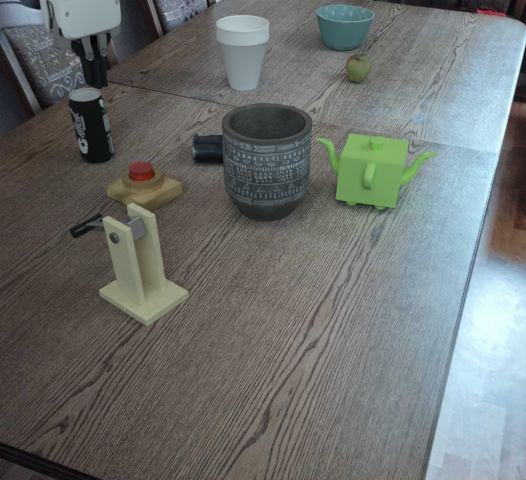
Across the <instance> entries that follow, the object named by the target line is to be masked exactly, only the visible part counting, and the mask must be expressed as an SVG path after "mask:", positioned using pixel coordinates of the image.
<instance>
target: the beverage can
mask: <svg viewBox="0 0 526 480" xmlns="http://www.w3.org/2000/svg"><path fill="white" fill-rule="evenodd" d="M67 105H68V109H69V113H70V117H71V121H72V125H73V129H74V133H75V138H76V142H77V146H78V149H79V153H80V157H81V158H82V159H84V160H85V161H86V162H89V163H93V164H100V163H105V162H108V161H109V160H111V159H113V156H114V155H115V152H116V149H115V143H114V139H113V134H112V130H111V124H110V120H109V114H108V109H107V104H106V100H105V98H104V97H103V95H102V92H101V90H100V89H96V88H94V87H81V88H76V89H73V90H72V91H70V92H69V93H68V104H67Z"/></svg>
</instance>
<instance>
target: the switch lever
mask: <svg viewBox="0 0 526 480" xmlns="http://www.w3.org/2000/svg"><path fill="white" fill-rule="evenodd" d="M103 218H104V215H103V214H101V213H97V214H95V215H93V216H91V217H90V218H87V219H86V220H83V221H82V222H79V223H78V224H76V225H74V226H72V227H70V228H69V233H70V235H71V237H72V238H73V239H74V240H75V239H79V238H80V237H83V236H84V235H86V234H88V233H90V232H98V233H99V232H100V233H105V229H104V225H103V221H102V219H103ZM118 221H119V222H121V223H123V224H124V225H126V226H128V227H130V228H131V231H132V236H133V241H136V240H137V239H139V238H141V237H142V236H144V235H146V234H147V232H146V230H145V228H144V225H143V223H142V220H141V218H140V217H137V216H129V215H127V216H126V217H123V218H122V219H120V220H118Z"/></svg>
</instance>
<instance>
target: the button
mask: <svg viewBox="0 0 526 480" xmlns="http://www.w3.org/2000/svg"><path fill="white" fill-rule="evenodd" d="M152 165H153V164H152V163H150V162H148V161H137V162H133V163H131V164H130V165H129V167H128V168H129V172H130V178H131V179H132V180H134V181H145V180H149V179H151V178H153V176H154V174H153V168H152Z"/></svg>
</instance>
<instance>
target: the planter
mask: <svg viewBox="0 0 526 480" xmlns="http://www.w3.org/2000/svg"><path fill="white" fill-rule="evenodd" d="M292 106H293V105H287V104H282V103H272V102H271V103H269V102H257V103H251V104H245V105H242V106H239V107H235V108H233V109H231V110H230V111H228V112H227V113H226V114H225V115H224V116H223V118H222V119H221V133H222V134H221V135H222V141H223V161H224V162H223V182H224V190H225V193H226V194H227V196H228V197H229V198H230V200H231V201H232V203H233V204H234V205H235V207H236V208H237V210H239V212H240V213H241V214H242V215H243V216H244V217H246V218H249V219H251V220H253V221H254V220H255V221H259V222H274V221H279V220H282V219H285V218H287V217H288V216H290V215H291V214H292V213H293V212H294V210H295V209H296V208H297V207H298V206H299V204H300V203H301V201H302V200H303V199H304V197H306V194H307V192H308V190H309V185H310V184H309V183H310V172H311V171H310V168H311V167H310V166H311V156H312V155H311V154H312V137H313V136H312V134H313V119H312V117H311V115H310V114H309V113H308V112H306V111H304V110H303V109H301V108H298V107H296V106H294V107H292ZM295 107H296V108H295Z"/></svg>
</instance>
